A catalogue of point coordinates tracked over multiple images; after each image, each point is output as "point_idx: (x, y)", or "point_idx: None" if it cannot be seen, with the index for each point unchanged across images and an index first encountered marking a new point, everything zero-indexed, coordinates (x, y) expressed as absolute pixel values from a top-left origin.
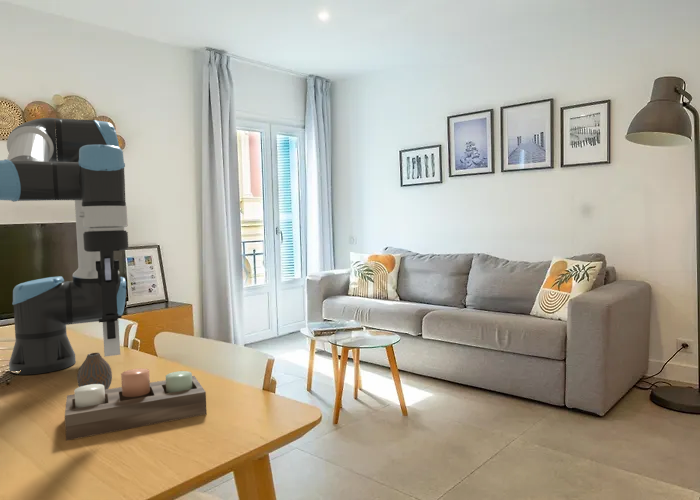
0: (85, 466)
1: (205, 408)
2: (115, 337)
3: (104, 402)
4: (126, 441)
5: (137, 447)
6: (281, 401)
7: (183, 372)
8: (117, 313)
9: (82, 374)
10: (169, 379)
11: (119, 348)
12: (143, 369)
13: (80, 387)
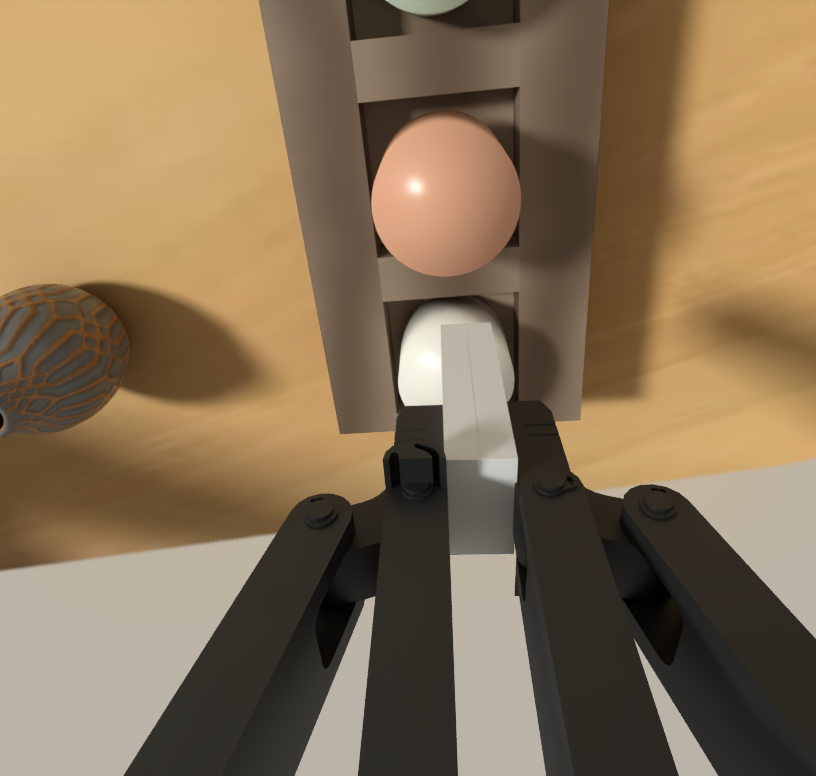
0: (812, 308)
1: None
2: (543, 405)
3: (468, 304)
4: (694, 196)
5: (781, 156)
6: None
7: None
8: (709, 524)
9: (92, 411)
10: None
11: (494, 343)
12: (406, 158)
13: None
